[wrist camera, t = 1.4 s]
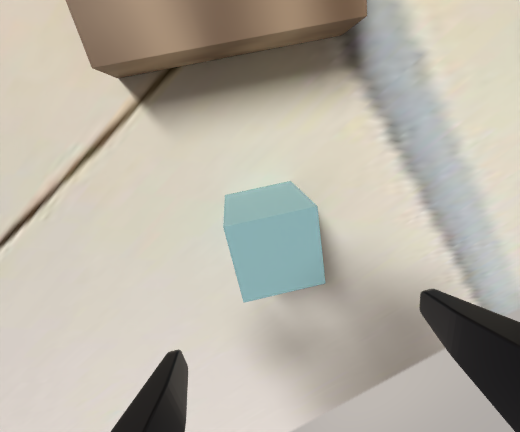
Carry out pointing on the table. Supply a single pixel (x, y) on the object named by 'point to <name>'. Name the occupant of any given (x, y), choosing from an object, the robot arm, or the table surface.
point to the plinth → (200, 29)
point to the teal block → (273, 240)
